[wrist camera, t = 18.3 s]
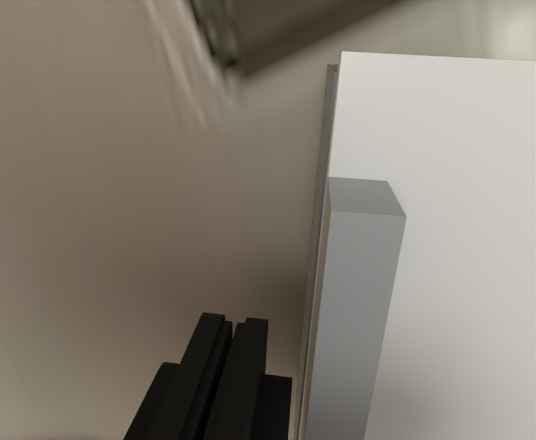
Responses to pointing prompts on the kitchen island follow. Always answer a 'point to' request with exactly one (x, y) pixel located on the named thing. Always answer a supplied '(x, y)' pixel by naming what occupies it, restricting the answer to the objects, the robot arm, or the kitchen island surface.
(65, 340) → the kitchen island surface
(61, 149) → the kitchen island surface
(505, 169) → the lid
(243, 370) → the robot arm
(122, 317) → the kitchen island surface
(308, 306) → the housing
